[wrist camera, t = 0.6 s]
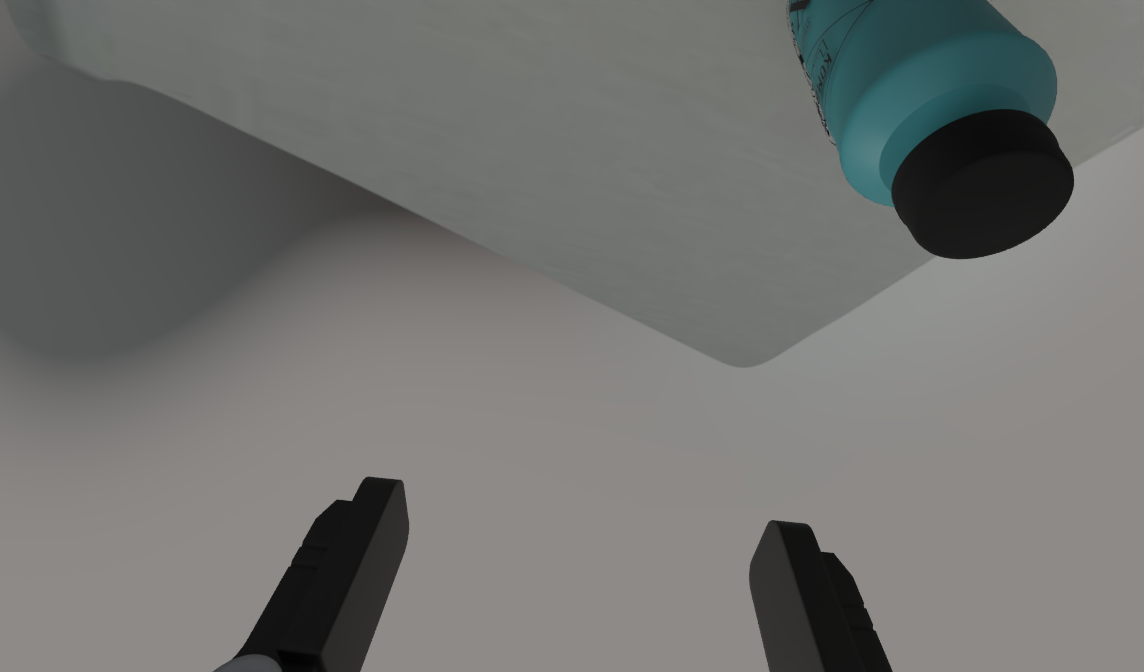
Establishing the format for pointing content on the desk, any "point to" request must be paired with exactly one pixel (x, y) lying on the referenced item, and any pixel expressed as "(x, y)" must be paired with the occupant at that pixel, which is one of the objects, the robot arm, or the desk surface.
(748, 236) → the desk surface
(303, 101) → the desk surface
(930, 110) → the beverage bottle
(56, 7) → the desk surface
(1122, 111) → the desk surface
